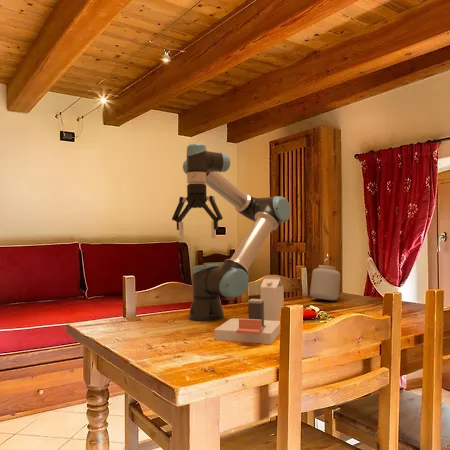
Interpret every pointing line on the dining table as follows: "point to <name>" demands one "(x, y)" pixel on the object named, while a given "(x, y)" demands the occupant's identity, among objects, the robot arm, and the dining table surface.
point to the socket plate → (229, 334)
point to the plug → (256, 309)
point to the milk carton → (272, 297)
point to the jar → (325, 283)
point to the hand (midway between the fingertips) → (197, 238)
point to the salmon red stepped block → (250, 326)
